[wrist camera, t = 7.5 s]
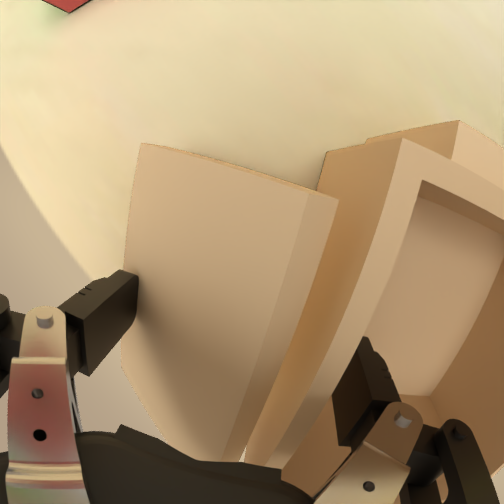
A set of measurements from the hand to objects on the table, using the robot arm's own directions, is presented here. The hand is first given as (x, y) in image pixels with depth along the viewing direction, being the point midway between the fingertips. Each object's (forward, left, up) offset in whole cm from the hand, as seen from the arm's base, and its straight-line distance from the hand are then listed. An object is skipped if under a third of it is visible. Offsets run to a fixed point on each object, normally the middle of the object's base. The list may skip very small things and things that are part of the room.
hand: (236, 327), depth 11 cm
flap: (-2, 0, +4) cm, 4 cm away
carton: (-9, 0, -6) cm, 11 cm away
